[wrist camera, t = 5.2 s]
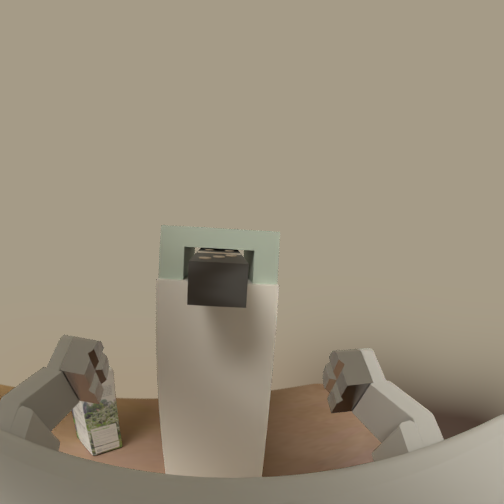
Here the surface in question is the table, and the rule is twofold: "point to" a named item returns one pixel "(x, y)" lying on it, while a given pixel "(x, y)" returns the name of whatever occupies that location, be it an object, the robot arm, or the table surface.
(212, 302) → the domino bar
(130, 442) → the table surface
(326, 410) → the table surface
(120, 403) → the table surface
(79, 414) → the syrup box
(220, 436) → the slot stand
